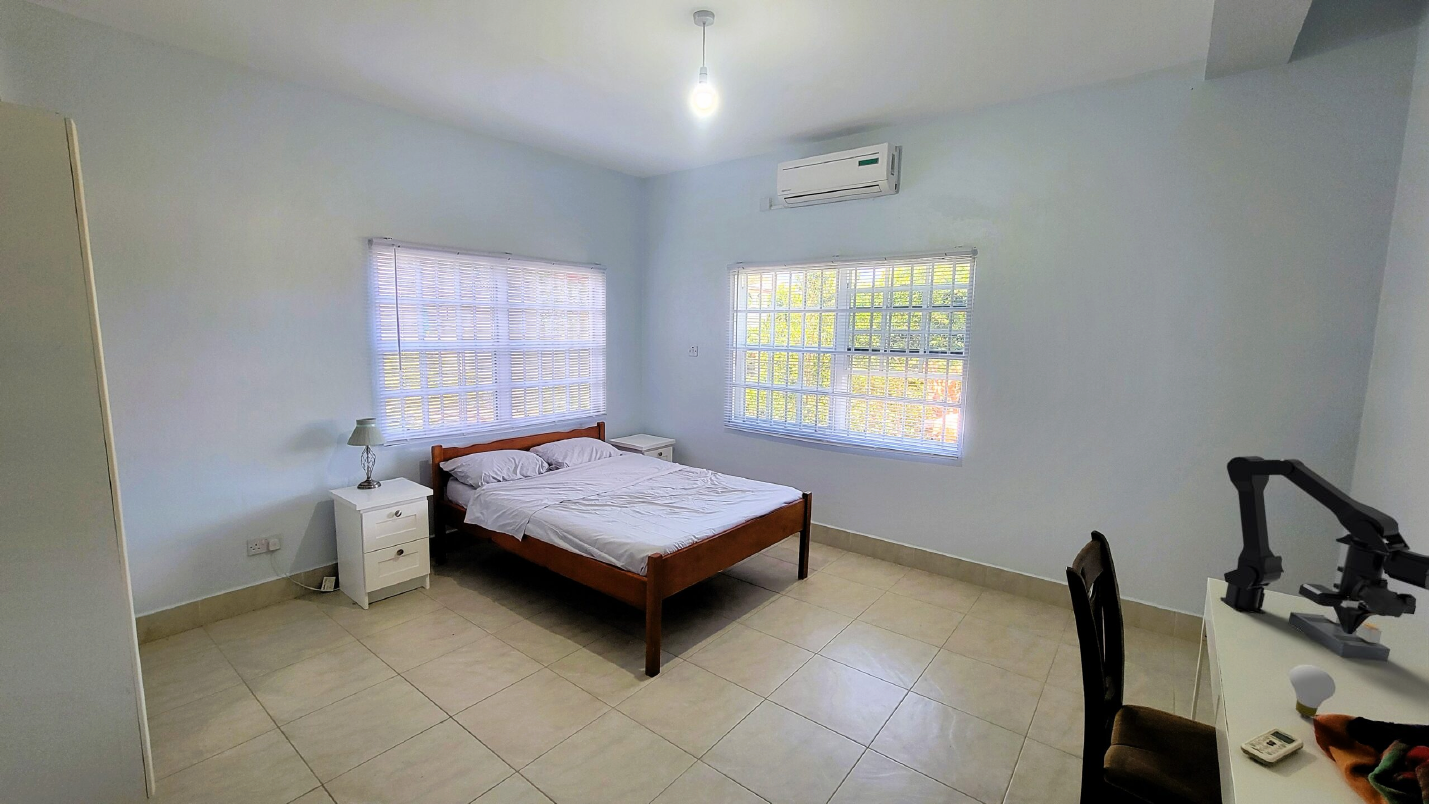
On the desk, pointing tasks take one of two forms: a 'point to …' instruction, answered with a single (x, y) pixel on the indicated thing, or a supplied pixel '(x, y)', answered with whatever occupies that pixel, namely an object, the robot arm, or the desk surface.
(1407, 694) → the desk surface
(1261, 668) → the desk surface
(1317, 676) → the light bulb
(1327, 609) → the handle
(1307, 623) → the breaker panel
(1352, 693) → the desk surface
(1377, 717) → the desk surface
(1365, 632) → the handle
